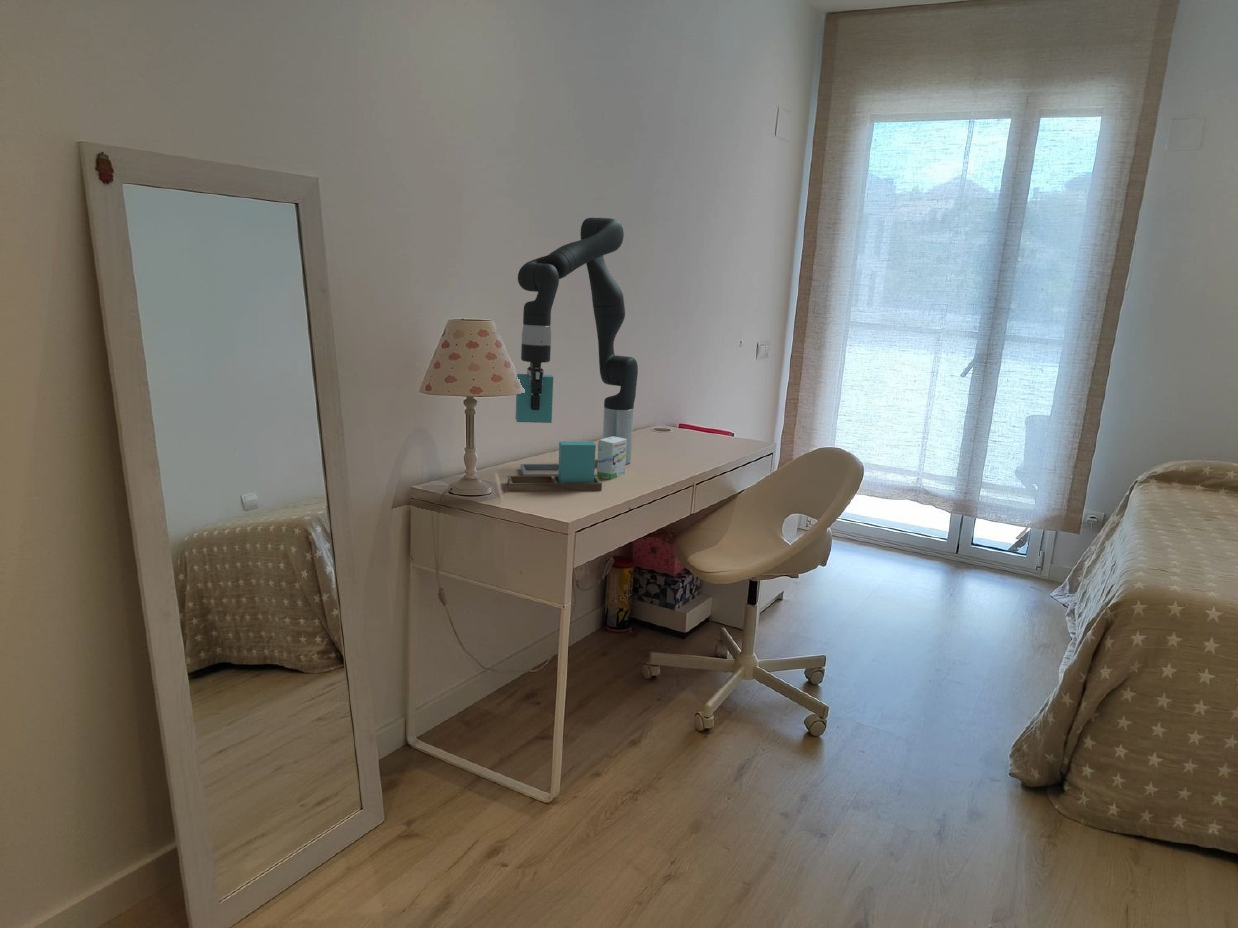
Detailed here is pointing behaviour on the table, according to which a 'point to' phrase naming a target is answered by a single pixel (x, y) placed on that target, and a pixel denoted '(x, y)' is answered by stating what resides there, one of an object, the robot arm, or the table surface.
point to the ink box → (611, 457)
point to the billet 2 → (576, 462)
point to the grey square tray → (538, 467)
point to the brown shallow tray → (549, 484)
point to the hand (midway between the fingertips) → (533, 407)
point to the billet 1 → (524, 401)
